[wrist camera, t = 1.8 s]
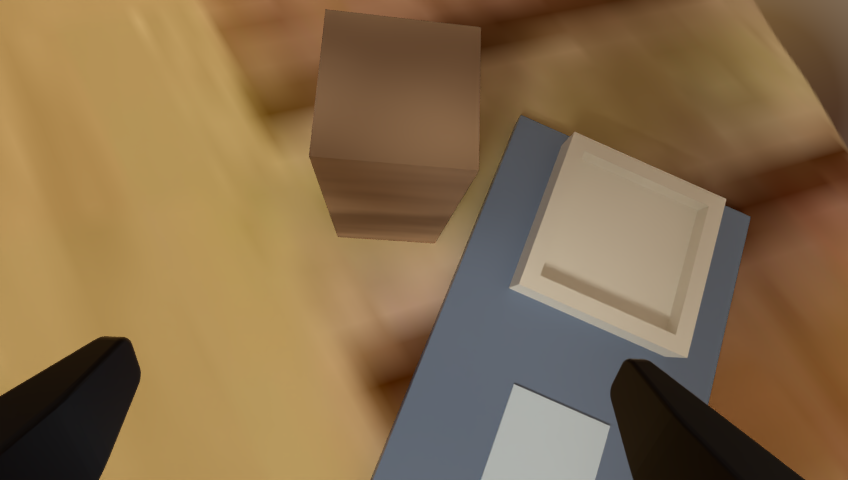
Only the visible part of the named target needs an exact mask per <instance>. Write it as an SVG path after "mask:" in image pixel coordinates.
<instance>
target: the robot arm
mask: <svg viewBox="0 0 848 480" xmlns="http://www.w3.org/2000/svg"><path fill="white" fill-rule="evenodd" d="M140 377H141V371H140V367H139V364H138V361H137V358H136V355H135V352H134V349H133V346H132V343H131V341H130V340H129V339H128V338H125V337H109V336H104V337H100V338H97V339H95V340H94V341H92V342H90V343H89V344H87V345H85V346H84V347H82V348H80V349H79V350H77V351H75V352H74V353H72V354H70V355H68V356H67V357H65V358H63V359H62V360H60V361H58V362H57V363H55V364H53V365H52V366H50V367H48V368H47V369H45V370H43V371H42V372H40V373H38V374H37V375H35V376H33V377H32V378H30V379H28V380H26V381H25V382H23V383H21V384H20V385H18V386H16V387H15V388H13V389H11V390H10V391H8V392H6V393H5V394H3V395H1V396H0V480H99V478H100V476H101V474H102V472H103V470H104V468H105V466H106V464H107V461H108V459H109V457H110V454H111V452H112V449H113V447H114V444H115V442H116V439H117V437H118V434H119V432H120V430H121V427H122V425H123V422H124V420H125V417H126V415H127V412H128V410H129V407H130V405H131V402H132V400H133V397H134V395H135V392H136V390H137V387H138V385H139V382H140ZM610 398H611V402H612V406H613V410H614V413H615V417H616V421H617V424H618V428H619V432H620V435H621V439H622V443H623V446H624V450H625V454H626V457H627V461H628V465H629V468H630V471H631V474H632V478H633V480H805V479H803V478H802V477H801V476H799V475H798V474H797V473H796V472H794V471H793V470H792V469H790V468H789V467H788V466H786V465H785V464H784V463H783V462H781V461H780V460H779V459H777V458H776V457H775V456H773V455H772V454H771V453H770V452H768V451H767V450H766V449H764V448H763V447H762V446H760V445H759V444H758V443H757V442H755V441H754V440H753V439H751V438H750V437H749V436H747V435H746V434H745V433H743V432H742V431H741V430H740V429H738V428H737V427H736V426H734V425H733V424H732V423H730V422H729V421H728V420H727V419H725V418H724V417H723V416H721V415H720V414H719V413H717V412H716V411H715V410H714V409H712V408H711V407H710V406H708V405H707V404H706V403H704V402H703V401H702V400H700V399H699V398H698V397H697V396H695V395H694V394H693V393H691V392H690V391H689V390H687V389H686V388H685V387H684V386H682V385H681V384H680V383H678V382H677V381H676V380H674V379H673V378H672V377H671V376H669V375H668V374H667V373H665V372H664V371H663V370H661V369H660V368H659V367H657V366H656V365H655V364H654V363H652V362H651V361H649V360H646V359H631V358H629V359H626V360H625V361H623V363H622V365H621V367H620V369H619V371H618V373H617V375H616V377H615V379H614V381H613V383H612V385H611V389H610Z"/></svg>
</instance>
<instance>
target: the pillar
mask: <svg viewBox="0 0 848 480" xmlns="http://www.w3.org/2000/svg"><path fill="white" fill-rule="evenodd" d="M480 62H481V27H474V26H466V25H457V24H448V23H440V22H431V21H422V20H414V19H405V18H397V17H388V16H379V15H371V14H362V13H353V12H345V11H336V10H327V9H325V18H324V27H323V36H322V45H321V54H320V63H319V72H318V81H317V90H316V99H315V108H314V117H313V126H312V135H311V144H310V153H309V157H310V160H311V163H312V166H313V169H314V171H315V174H316V177H317V180H318V183H319V185H320V188H321V191H322V194H323V197H324V199H325V202H326V205H327V208H328V211H329V213H330V216H331V219H332V222H333V225H334V227H335V230H336V233H337V236H338V237H347V238H362V239H378V240H393V241H408V242H423V243H435V242H436V240H437V239H438V237H439V235H440V234H441V232H442V230H443V229H444V227H445V225H446V224H447V222H448V221H449V219H450V217H451V216H452V214H453V212H454V211H455V209H456V207H457V206H458V204H459V202H460V201H461V199H462V198H463V196H464V194H465V193H466V191H467V189H468V188H469V186H470V184H471V183H472V181H473V179H474V178H475V176H476V175H477V173H478V171H479V134H480Z"/></svg>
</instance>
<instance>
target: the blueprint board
mask: <svg viewBox="0 0 848 480" xmlns="http://www.w3.org/2000/svg"><path fill="white" fill-rule="evenodd" d="M725 203H726V199H725V198H723V197H721V196H719V195H716V194H714V193H712V192H710V191H707V190H705V189H703V188H701V187H698V186H696V185H694V184H692V183H689V182H687V181H685V180H683V179H680V178H678V177H676V176H674V175H671V174H669V173H667V172H665V171H662V170H660V169H658V168H656V167H653V166H651V165H649V164H647V163H644V162H642V161H640V160H638V159H635V158H633V157H631V156H629V155H626V154H624V153H622V152H619V151H617V150H615V149H613V148H610V147H608V146H606V145H604V144H601V143H599V142H597V141H595V140H592V139H590V138H588V137H586V136H583V135H581V134H579V133H577V132H574V133H573V134H572V135H571V136H567V135H565V134H563V133H561V132H558V131H556V130H554V129H552V128H549V127H547V126H545V125H543V124H540V123H538V122H536V121H534V120H531V119H529V118H527V117H525V116H522V115H521V116H520V117H519V119H518V120H517V122H516V124H515V127H514V129H513V132H512V134H511V137H510V139H509V141H508V144H507V146H506V149H505V151H504V154H503V156H502V159H501V161H500V164H499V166H498V168H497V171H496V173H495V176H494V178H493V181H492V183H491V186H490V188H489V191H488V193H487V195H486V198H485V200H484V203H483V205H482V208H481V210H480V213H479V215H478V218H477V220H476V222H475V225H474V227H473V230H472V232H471V235H470V237H469V240H468V242H467V245H466V247H465V249H464V252H463V254H462V257H461V259H460V262H459V264H458V267H457V269H456V272H455V274H454V276H453V279H452V281H451V284H450V286H449V289H448V291H447V294H446V296H445V299H444V301H443V303H442V306H441V308H440V311H439V313H438V316H437V318H436V321H435V323H434V326H433V328H432V330H431V333H430V335H429V338H428V340H427V343H426V345H425V348H424V350H423V353H422V355H421V357H420V360H419V362H418V365H417V367H416V370H415V372H414V375H413V377H412V380H411V382H410V384H409V387H408V389H407V392H406V394H405V397H404V399H403V402H402V404H401V406H400V409H399V411H398V414H397V416H396V419H395V421H394V424H393V426H392V429H391V431H390V433H389V436H388V438H387V441H386V443H385V446H384V448H383V451H382V453H381V456H380V458H379V460H378V463H377V465H376V468H375V470H374V473H373V475H372V478H371V480H633V478H632V474H631V471H630V468H629V465H628V461H627V457H626V454H625V450H624V446H623V443H622V439H621V435H620V432H619V428H618V424H617V421H616V417H615V413H614V410H613V406H612V402H611V398H610V389H611V385H612V383H613V381H614V379H615V377H616V375H617V373H618V371H619V369H620V367H621V365H622V363H623V361H625V360H626V359H629V358H631V359H646V360H649V361H651V362H652V363H654V364H655V365H656V366H657V367H659V368H660V369H661V370H663V371H664V372H665V373H667V374H668V375H669V376H671V377H672V378H673V379H674V380H676V381H677V382H678V383H680V384H681V385H682V386H684V387H685V388H686V389H687V390H689V391H690V392H691V393H693V394H694V395H695V396H697V397H698V398H699V399H700V400H702V401H703V402H704V403H706V404H707V405H708V402H709V398H710V393H711V389H712V385H713V380H714V376H715V371H716V367H717V363H718V358H719V354H720V349H721V345H722V341H723V336H724V332H725V327H726V323H727V319H728V314H729V310H730V305H731V301H732V296H733V292H734V288H735V283H736V279H737V274H738V270H739V266H740V261H741V257H742V252H743V248H744V244H745V239H746V235H747V230H748V226H749V221H750V216H748V215H745V214H743V213H741V212H739V211H736V210H734V209H732V208H730V207H727V206H725Z"/></svg>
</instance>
